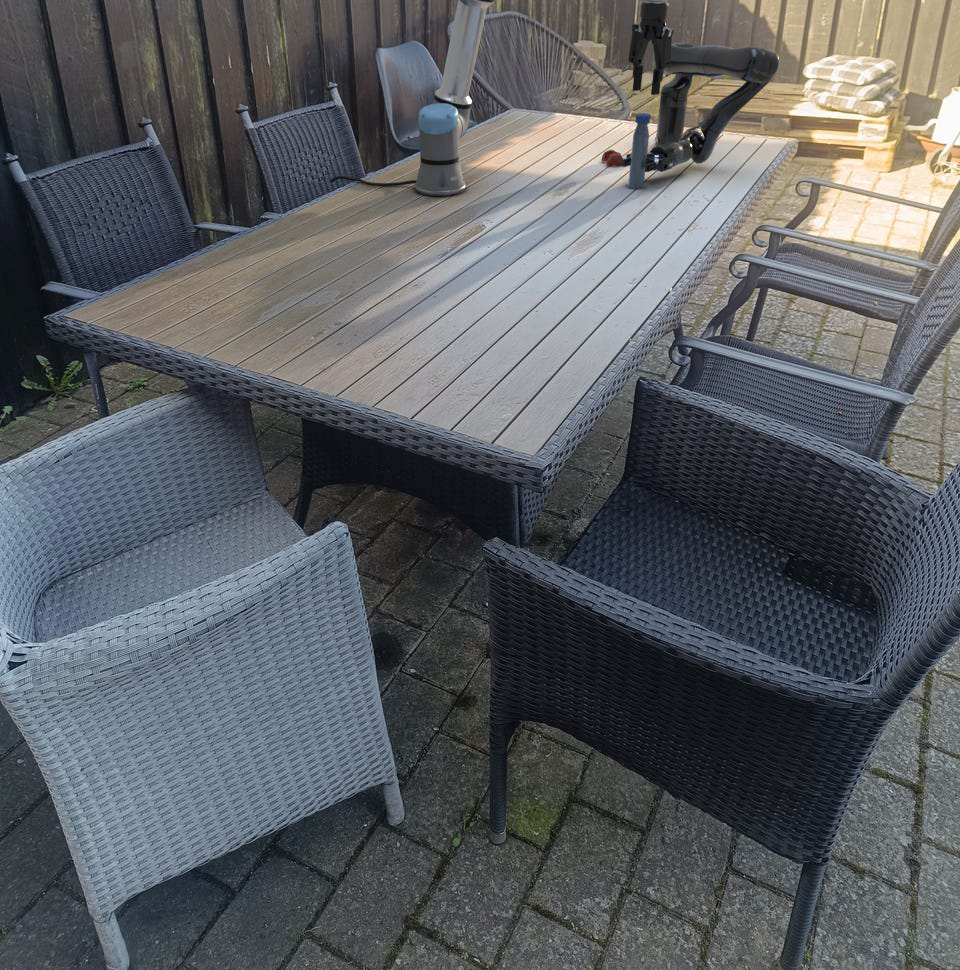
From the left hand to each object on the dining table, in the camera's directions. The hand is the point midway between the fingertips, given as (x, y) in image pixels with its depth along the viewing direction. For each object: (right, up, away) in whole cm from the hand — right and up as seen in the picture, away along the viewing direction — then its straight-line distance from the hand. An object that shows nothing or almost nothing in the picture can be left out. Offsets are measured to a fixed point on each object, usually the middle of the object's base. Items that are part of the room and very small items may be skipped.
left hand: (645, 92), depth 245 cm
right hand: (-1, -17, +11) cm, 21 cm away
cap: (0, -5, +4) cm, 6 cm away
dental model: (-4, -7, +37) cm, 38 cm away
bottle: (0, -22, +16) cm, 27 cm away
